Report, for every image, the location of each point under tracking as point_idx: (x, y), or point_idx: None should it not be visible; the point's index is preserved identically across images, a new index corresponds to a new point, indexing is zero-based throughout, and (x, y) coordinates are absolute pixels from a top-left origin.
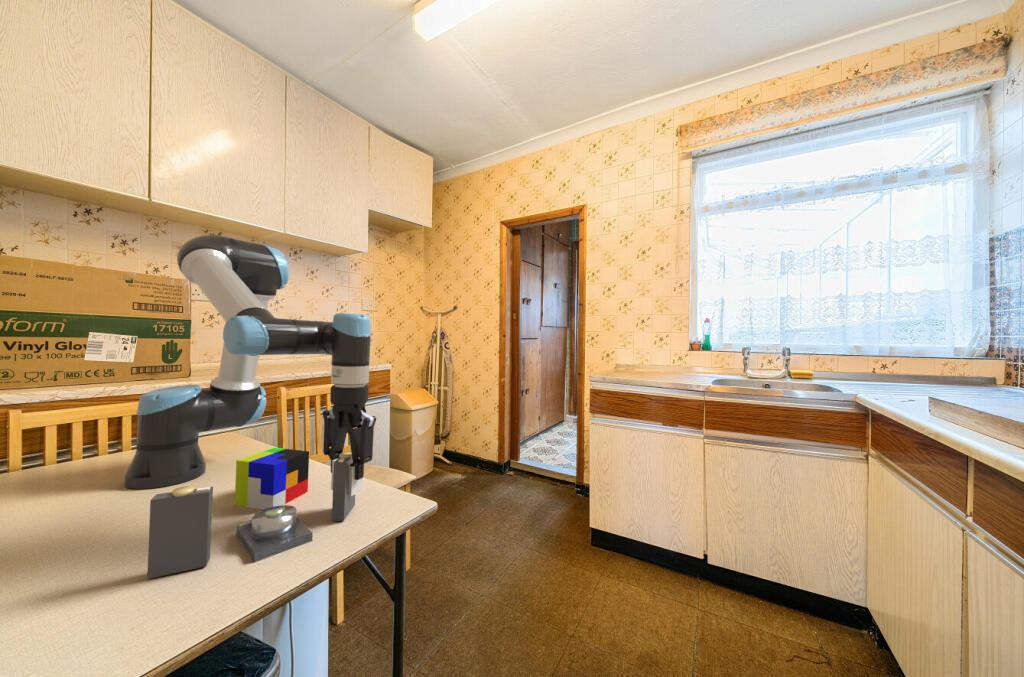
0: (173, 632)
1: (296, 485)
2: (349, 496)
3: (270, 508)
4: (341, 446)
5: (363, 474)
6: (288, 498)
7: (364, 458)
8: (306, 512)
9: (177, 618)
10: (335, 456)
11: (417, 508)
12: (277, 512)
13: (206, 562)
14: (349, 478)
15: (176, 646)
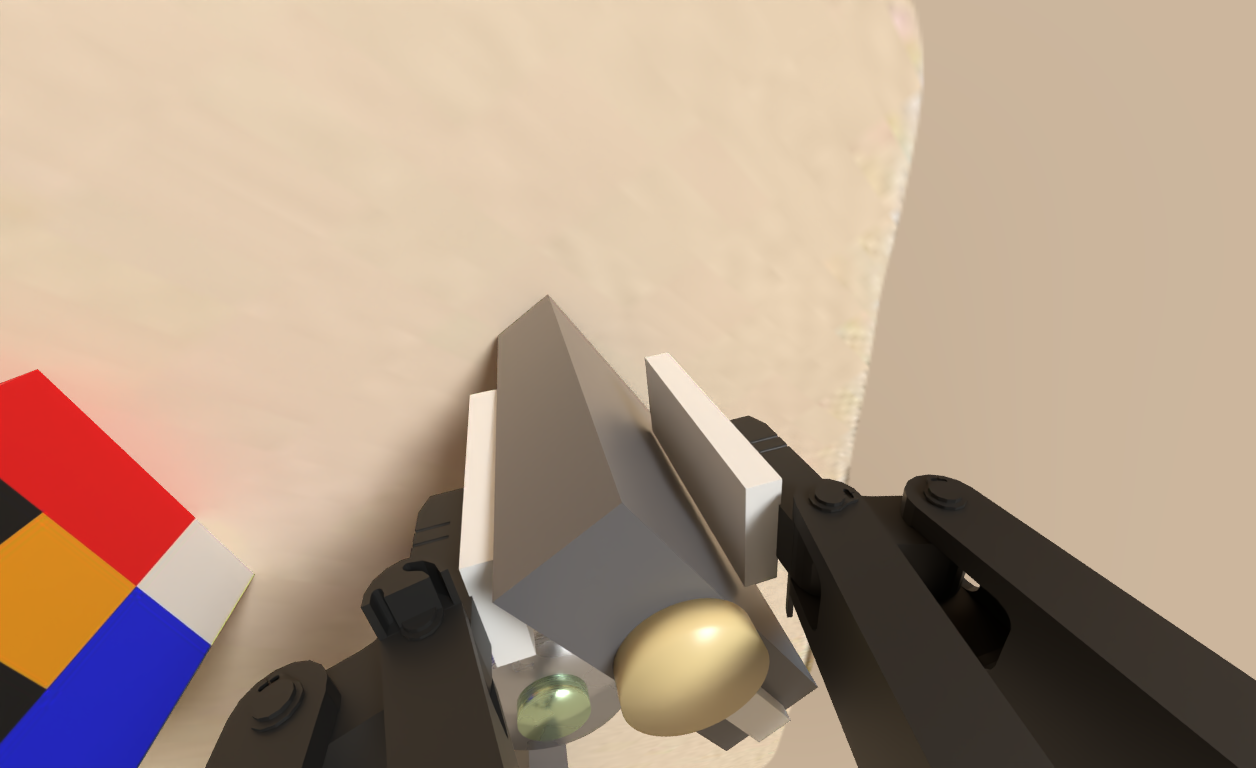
0: (733, 748)
1: (57, 511)
2: (635, 410)
3: (526, 727)
4: (508, 764)
5: (772, 432)
6: (162, 516)
7: (977, 602)
8: (410, 480)
9: (702, 748)
10: (491, 677)
11: (873, 77)
12: (590, 712)
13: (565, 745)
14: (696, 501)
15: (769, 742)
